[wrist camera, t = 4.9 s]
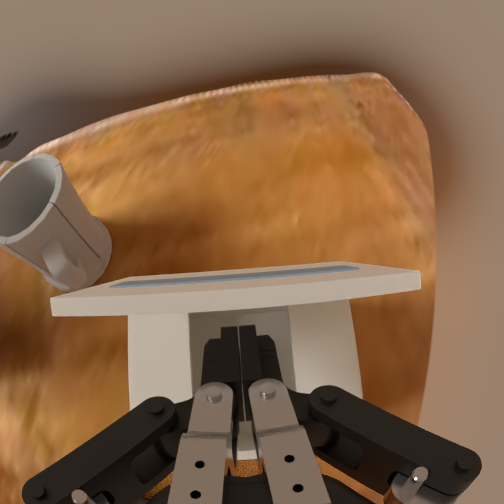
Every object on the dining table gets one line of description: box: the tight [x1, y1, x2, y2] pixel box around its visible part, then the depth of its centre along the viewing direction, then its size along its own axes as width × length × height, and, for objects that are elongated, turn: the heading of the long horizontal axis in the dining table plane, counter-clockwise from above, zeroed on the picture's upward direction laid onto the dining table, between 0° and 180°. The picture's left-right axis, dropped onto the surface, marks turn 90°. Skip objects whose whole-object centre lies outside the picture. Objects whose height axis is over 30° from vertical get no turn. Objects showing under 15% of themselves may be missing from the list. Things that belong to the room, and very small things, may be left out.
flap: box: [50, 261, 421, 316], centre depth 16 cm, size 1×14×10 cm, turn 95°
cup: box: [0, 153, 112, 293], centre depth 26 cm, size 10×9×12 cm
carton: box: [128, 299, 363, 460], centre depth 23 cm, size 12×15×9 cm
